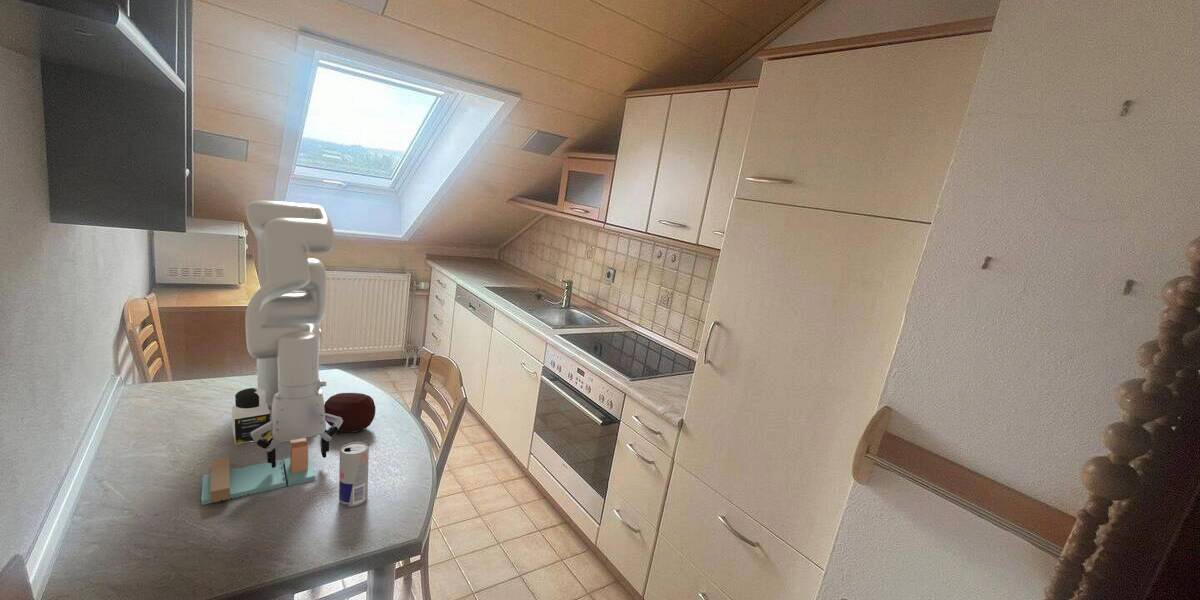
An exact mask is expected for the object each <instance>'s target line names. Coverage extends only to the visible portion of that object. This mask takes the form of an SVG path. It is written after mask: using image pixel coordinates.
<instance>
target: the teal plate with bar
mask: <svg viewBox="0 0 1200 600" xmlns="http://www.w3.org/2000/svg"><path fill="white" fill-rule="evenodd" d="M210 467H211V468H210V473H206V474H203V475H202V483H201V496H200V497H201V499H200V500H201V502H200V503H201V506H205V505H209V503H210V504H212V503H213V502H214V503H218V502H221V500H223V501H227V500H231V499H230V498H232V499H235V498H234V497H236V498H240V497H239V496H241V497H244V496H243V495H245V496H248V495H247V494H250V495H253V493H254V494H258V493H257V492H259V493H263V492H267V491H266V490H268V491H271V490H276V488H277V489H280V488H284V487H285V486H286V487H287V478H286V473H285V468H284V463H283V460H282V459H280V460H276V467H275V468H272V465H271V463H268V462H263V463H258V464H253V465H247V466H243V467H237V468H231V469H230V467H231V465H230V456H225V457H220V458H215V459H211V466H210ZM262 491H263V492H262ZM226 499H227V500H226Z"/></svg>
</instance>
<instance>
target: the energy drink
mask: <svg viewBox="0 0 1200 600" xmlns="http://www.w3.org/2000/svg"><path fill="white" fill-rule="evenodd" d="M368 446H369V445H368V444H367V443H364V442H360V441H354V442H348V443H346V444H344V445H343V446H341V449H340V452H339V469H338V470H339V474H338V475H339V479H338V480H339V481H338V483H339V484H338V486H339V487H338V489H339V490H338V503H339V504H340V505H341V506H343V507H346V508H353V507H354V508H355V507H357V506H360V505H362V504H363V503H365V502H366V501H367V500H368V494H369V493H368V492H369V491H368V490H369V485H368V484H369V456H370V455H369V454H370V453H369V451H370V450H369V447H368Z"/></svg>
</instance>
